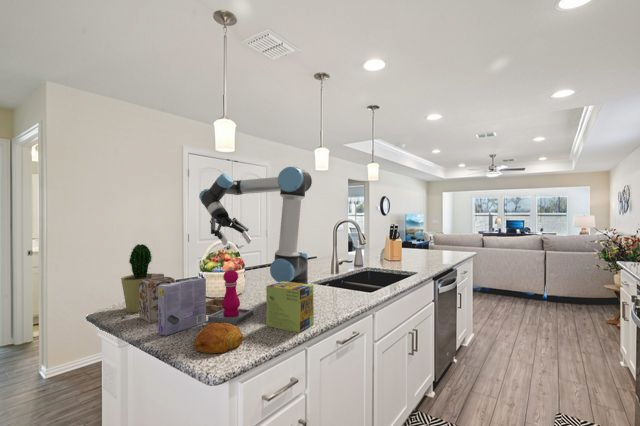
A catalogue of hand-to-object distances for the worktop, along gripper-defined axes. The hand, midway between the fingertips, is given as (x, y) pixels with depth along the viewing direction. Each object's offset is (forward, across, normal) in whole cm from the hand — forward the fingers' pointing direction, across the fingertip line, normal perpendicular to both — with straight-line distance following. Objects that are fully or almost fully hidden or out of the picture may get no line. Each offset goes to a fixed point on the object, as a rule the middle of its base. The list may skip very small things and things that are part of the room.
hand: (238, 242), depth 153 cm
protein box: (+48, +3, +1) cm, 48 cm away
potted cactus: (-5, +29, -44) cm, 53 cm away
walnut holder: (+16, +8, -25) cm, 31 cm away
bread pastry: (+44, +32, -3) cm, 54 cm away
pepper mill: (+27, +12, -15) cm, 33 cm away
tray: (+28, +12, -16) cm, 34 cm away
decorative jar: (+9, +30, -33) cm, 45 cm away
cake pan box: (+25, +30, -19) cm, 43 cm away
